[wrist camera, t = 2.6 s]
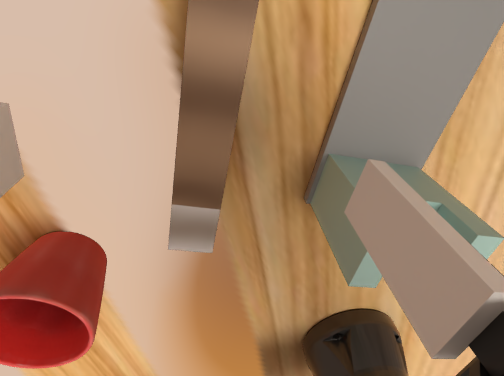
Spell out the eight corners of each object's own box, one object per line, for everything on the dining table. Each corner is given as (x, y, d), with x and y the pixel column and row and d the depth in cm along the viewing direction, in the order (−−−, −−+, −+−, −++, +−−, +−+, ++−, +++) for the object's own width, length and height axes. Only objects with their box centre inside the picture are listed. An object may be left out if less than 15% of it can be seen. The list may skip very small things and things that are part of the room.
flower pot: (136, 278, 37) (113, 357, 28) (49, 294, 37) (0, 379, 28) (99, 210, 31) (57, 285, 23) (-4, 230, 31) (-84, 312, 23)
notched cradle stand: (392, 208, 35) (464, 293, 25) (303, 198, 33) (342, 285, 23) (601, -177, 19) (1030, -379, 9) (458, -245, 17) (805, -601, 7)
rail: (213, 214, 33) (212, 252, 28) (176, 210, 32) (168, 249, 27) (273, -142, 19) (294, -196, 14) (210, -164, 18) (207, -229, 13)
